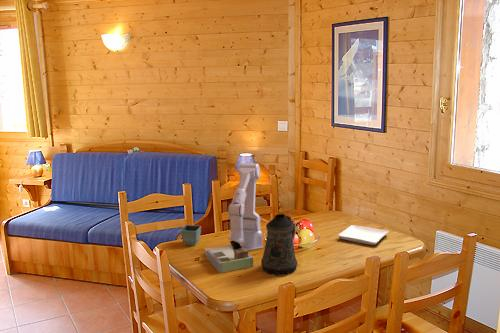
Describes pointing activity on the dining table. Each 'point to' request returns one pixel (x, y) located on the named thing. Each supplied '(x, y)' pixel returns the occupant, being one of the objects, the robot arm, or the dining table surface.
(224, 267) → the tray
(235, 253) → the walnut block
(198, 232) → the flower pot
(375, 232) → the salad plate
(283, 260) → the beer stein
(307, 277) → the dining table surface
